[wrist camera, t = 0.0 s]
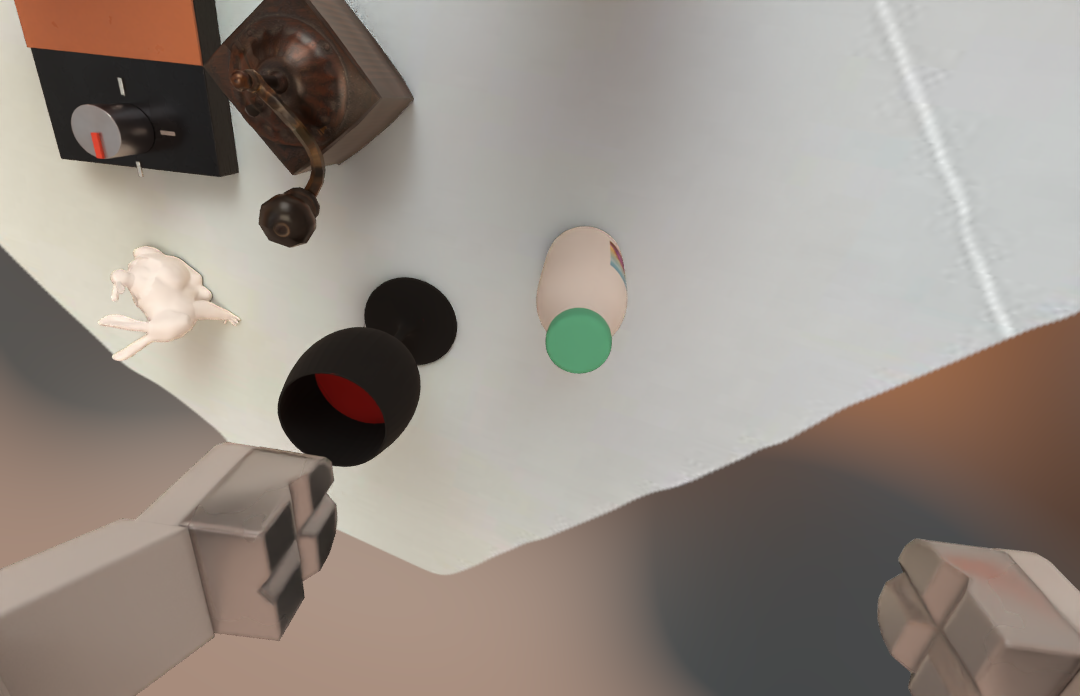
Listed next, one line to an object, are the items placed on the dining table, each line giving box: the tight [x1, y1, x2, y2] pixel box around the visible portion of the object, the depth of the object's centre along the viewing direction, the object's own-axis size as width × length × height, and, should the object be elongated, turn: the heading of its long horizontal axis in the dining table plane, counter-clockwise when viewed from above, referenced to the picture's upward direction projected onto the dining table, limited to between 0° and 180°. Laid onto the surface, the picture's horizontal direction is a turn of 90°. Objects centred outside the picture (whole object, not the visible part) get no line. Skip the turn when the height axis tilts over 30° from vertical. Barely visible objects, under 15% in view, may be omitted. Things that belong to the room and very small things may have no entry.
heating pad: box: [14, 0, 203, 66], centre depth 47 cm, size 8×16×1 cm, turn 85°
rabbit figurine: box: [98, 246, 241, 361], centre depth 57 cm, size 12×8×10 cm, turn 31°
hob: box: [31, 0, 238, 177], centre depth 50 cm, size 19×16×3 cm
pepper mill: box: [203, 0, 414, 248], centre depth 43 cm, size 16×11×18 cm
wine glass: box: [278, 278, 457, 467], centre depth 51 cm, size 10×10×20 cm
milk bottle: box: [536, 226, 627, 374], centre depth 46 cm, size 8×8×20 cm
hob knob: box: [71, 103, 154, 159], centre depth 49 cm, size 4×4×4 cm
